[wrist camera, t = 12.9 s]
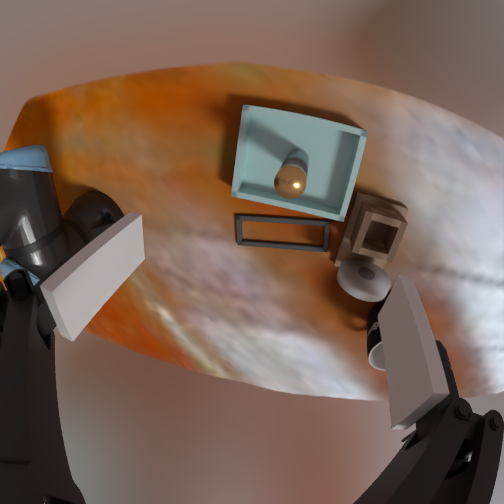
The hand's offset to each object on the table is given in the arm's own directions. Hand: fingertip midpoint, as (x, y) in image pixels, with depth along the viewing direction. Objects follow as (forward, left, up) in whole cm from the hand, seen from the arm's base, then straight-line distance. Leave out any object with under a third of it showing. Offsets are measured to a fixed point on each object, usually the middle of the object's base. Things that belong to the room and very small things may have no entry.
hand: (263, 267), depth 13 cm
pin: (0, 0, -26) cm, 26 cm away
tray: (0, 0, -27) cm, 27 cm away
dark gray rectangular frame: (0, -11, -27) cm, 29 cm away
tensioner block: (+13, -8, -27) cm, 31 cm away
